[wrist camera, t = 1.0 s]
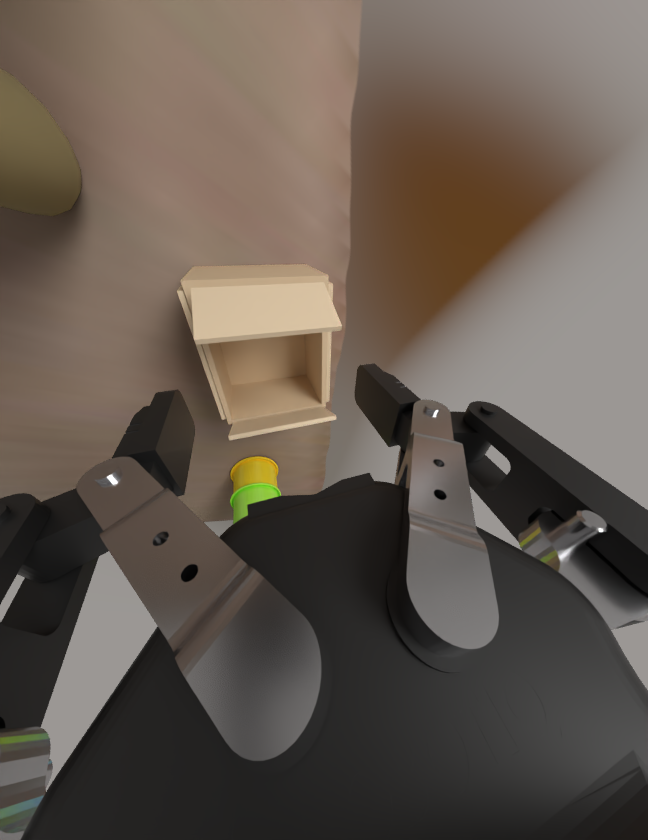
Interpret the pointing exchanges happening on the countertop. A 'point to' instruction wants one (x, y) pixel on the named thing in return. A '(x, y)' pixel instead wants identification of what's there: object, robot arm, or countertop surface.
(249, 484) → the stacking cups
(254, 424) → the flap
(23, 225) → the countertop surface
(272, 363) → the carton
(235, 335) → the flap
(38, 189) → the squeeze bottle
